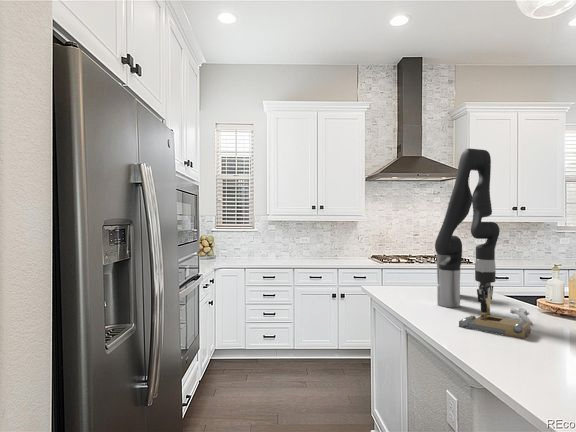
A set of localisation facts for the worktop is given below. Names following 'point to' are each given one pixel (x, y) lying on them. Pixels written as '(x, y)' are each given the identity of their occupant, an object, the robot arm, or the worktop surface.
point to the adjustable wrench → (521, 314)
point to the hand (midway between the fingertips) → (485, 311)
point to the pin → (487, 306)
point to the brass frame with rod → (498, 325)
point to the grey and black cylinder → (439, 259)
